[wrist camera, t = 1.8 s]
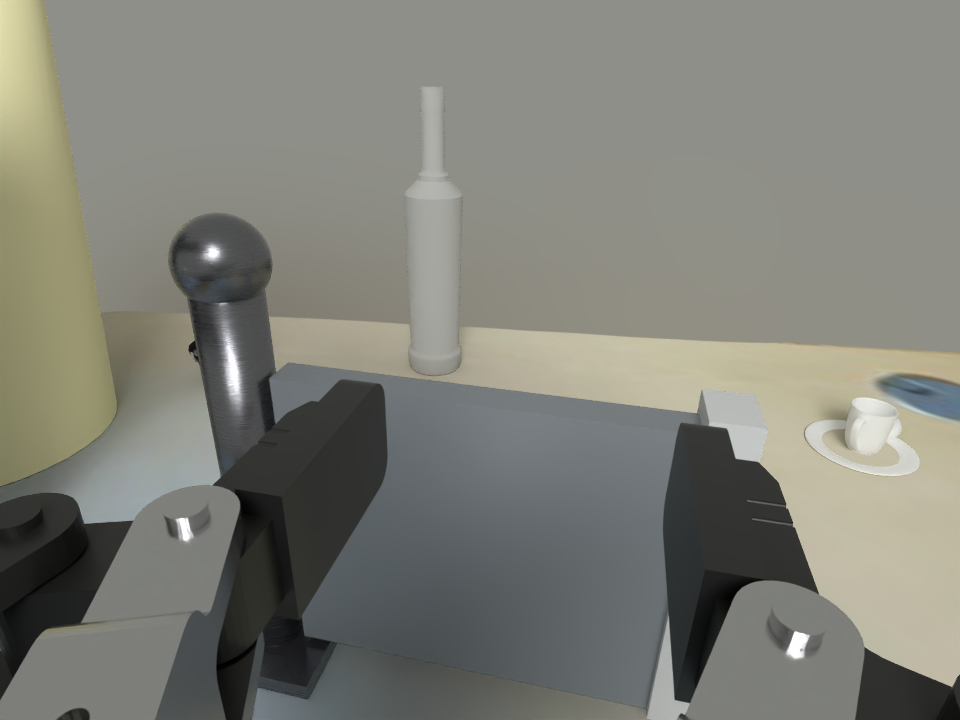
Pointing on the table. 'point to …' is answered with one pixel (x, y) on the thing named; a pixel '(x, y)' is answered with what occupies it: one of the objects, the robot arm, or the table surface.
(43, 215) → the cone light
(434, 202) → the bottle
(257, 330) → the gate post
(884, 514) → the table surface
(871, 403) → the teacup and saucer
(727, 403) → the gate
